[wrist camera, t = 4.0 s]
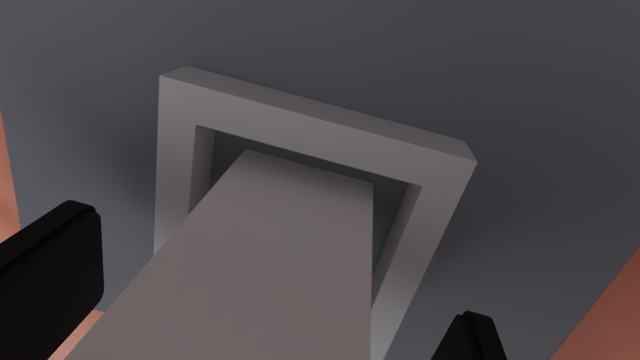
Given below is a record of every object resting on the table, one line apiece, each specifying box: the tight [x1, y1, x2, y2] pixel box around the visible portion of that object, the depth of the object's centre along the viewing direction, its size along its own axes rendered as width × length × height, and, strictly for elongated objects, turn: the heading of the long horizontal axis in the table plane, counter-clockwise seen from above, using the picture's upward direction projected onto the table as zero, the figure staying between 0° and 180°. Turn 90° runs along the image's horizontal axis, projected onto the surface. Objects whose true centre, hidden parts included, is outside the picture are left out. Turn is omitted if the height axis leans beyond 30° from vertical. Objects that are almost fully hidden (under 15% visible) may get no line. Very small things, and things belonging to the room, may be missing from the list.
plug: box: [64, 149, 373, 360], centre depth 9 cm, size 4×6×8 cm
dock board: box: [0, 0, 640, 360], centre depth 9 cm, size 20×26×2 cm
